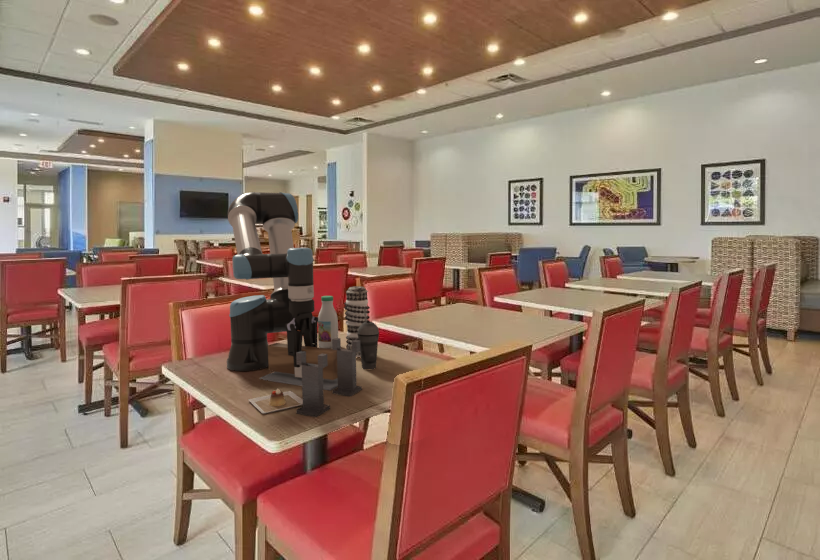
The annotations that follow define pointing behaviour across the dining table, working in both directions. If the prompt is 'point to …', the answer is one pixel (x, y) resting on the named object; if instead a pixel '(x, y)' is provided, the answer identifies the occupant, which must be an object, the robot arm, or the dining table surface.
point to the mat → (297, 380)
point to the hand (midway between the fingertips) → (304, 374)
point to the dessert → (277, 400)
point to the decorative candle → (355, 313)
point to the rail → (285, 362)
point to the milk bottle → (327, 323)
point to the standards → (314, 378)
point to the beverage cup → (368, 343)
